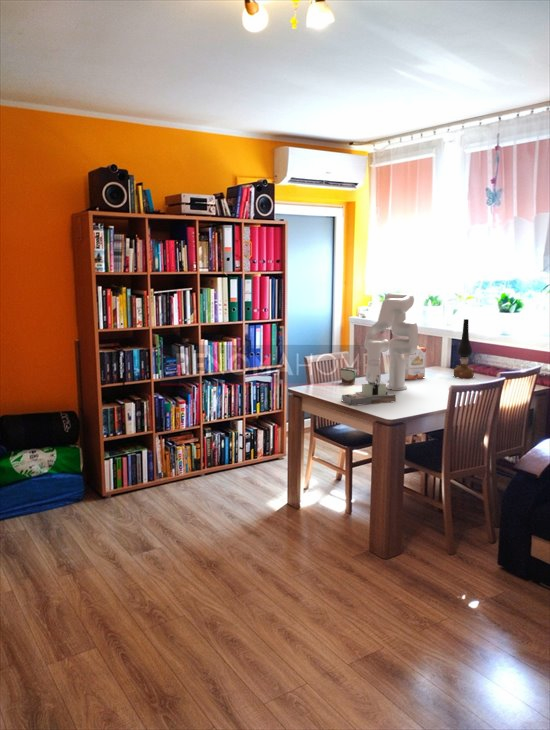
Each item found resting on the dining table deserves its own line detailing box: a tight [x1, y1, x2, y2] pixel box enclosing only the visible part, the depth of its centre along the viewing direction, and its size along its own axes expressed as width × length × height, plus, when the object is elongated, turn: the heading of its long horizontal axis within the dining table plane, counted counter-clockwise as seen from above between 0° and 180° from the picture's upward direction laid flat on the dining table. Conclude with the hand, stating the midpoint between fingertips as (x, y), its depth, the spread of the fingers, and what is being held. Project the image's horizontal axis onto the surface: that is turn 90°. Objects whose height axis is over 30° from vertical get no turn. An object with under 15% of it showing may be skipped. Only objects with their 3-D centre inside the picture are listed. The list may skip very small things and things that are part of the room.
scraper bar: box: [361, 382, 387, 398], centre depth 336 cm, size 4×13×7 cm, turn 108°
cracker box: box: [403, 346, 427, 380], centre depth 398 cm, size 14×6×21 cm, turn 114°
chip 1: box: [348, 393, 359, 399], centre depth 333 cm, size 4×4×4 cm
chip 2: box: [355, 391, 365, 399], centre depth 334 cm, size 4×4×4 cm
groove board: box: [367, 391, 397, 404], centre depth 338 cm, size 11×15×4 cm
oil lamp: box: [453, 318, 475, 379], centre depth 400 cm, size 14×15×40 cm
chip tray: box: [341, 393, 373, 406], centre depth 333 cm, size 12×13×4 cm
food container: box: [339, 366, 358, 386], centre depth 386 cm, size 12×6×10 cm, turn 43°
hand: (373, 393), depth 336 cm, fingers closed on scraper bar, 4 cm apart
